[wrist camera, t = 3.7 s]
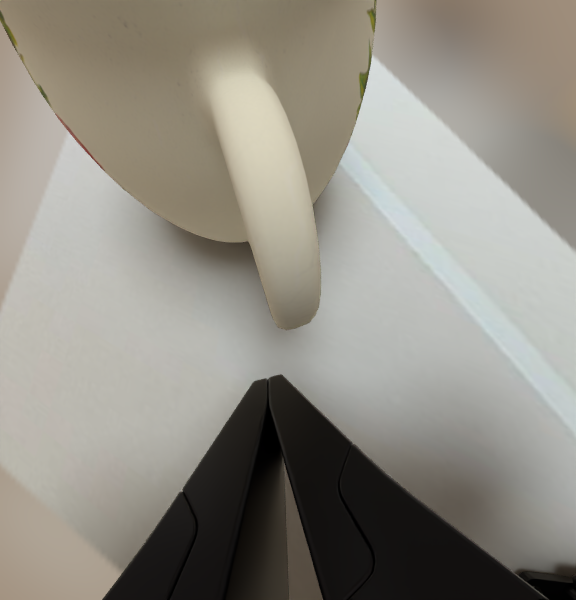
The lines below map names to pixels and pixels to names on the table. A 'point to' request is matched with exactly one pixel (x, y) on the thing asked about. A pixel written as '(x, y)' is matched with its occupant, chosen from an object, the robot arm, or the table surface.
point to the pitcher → (211, 112)
